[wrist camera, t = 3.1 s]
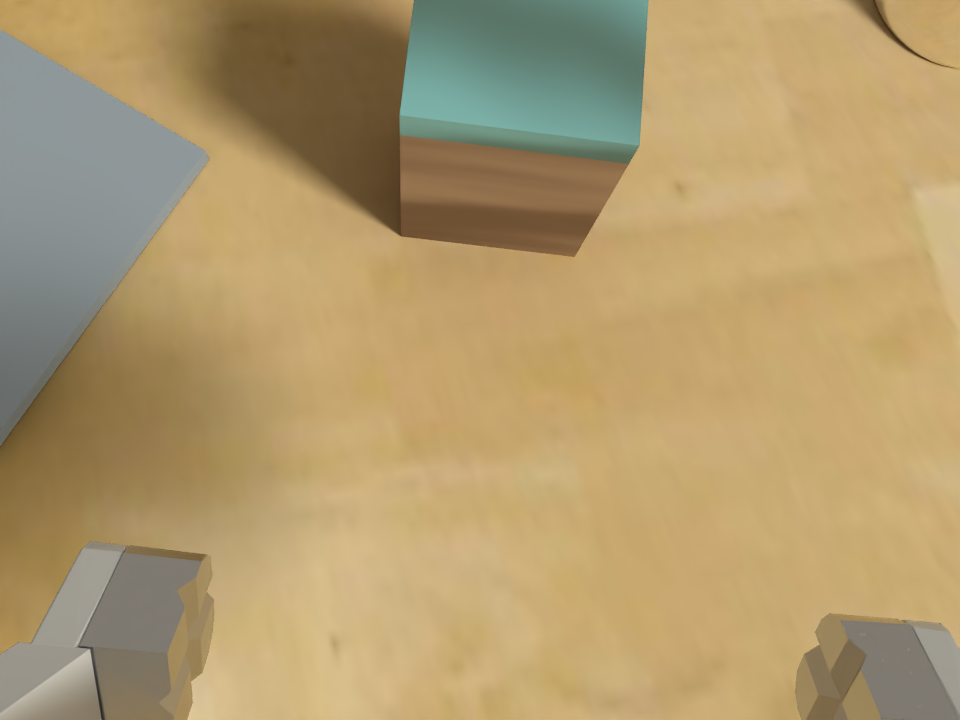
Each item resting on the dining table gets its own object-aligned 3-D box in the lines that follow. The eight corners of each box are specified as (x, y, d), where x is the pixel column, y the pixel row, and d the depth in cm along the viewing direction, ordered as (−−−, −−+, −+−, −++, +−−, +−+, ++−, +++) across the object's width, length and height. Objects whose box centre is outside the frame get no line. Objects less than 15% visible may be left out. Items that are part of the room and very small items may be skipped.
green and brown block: (574, 257, 28) (639, 145, 20) (400, 236, 28) (399, 115, 20) (583, 140, 29) (649, -9, 21) (415, 119, 29) (419, -41, 21)
